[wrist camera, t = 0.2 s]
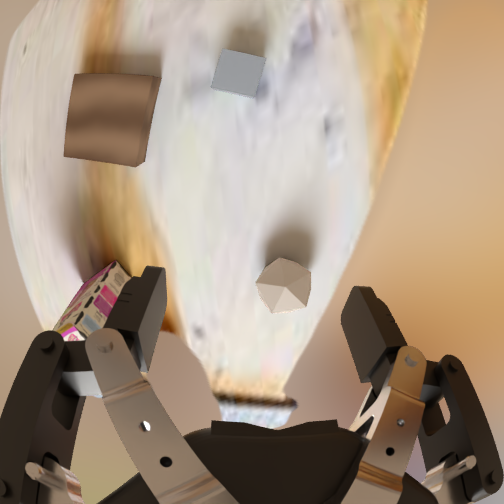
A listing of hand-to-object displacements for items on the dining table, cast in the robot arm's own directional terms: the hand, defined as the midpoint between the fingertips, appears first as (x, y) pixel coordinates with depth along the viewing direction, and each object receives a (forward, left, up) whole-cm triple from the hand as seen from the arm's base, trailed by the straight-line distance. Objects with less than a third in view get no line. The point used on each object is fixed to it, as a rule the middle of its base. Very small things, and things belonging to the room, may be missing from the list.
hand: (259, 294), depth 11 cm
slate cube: (-11, -4, -28) cm, 30 cm away
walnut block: (-3, -20, -28) cm, 35 cm away
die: (+16, +10, -28) cm, 34 cm away
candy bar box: (+26, -20, -28) cm, 44 cm away
